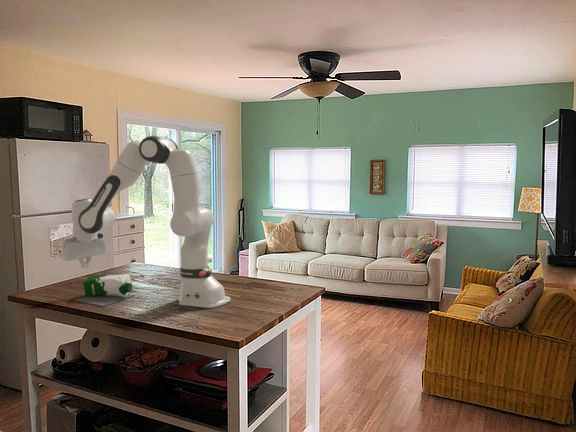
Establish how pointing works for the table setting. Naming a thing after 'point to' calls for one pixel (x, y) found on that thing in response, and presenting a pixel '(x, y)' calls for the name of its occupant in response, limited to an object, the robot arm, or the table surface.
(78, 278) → the table surface
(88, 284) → the soya milk
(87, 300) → the mat
